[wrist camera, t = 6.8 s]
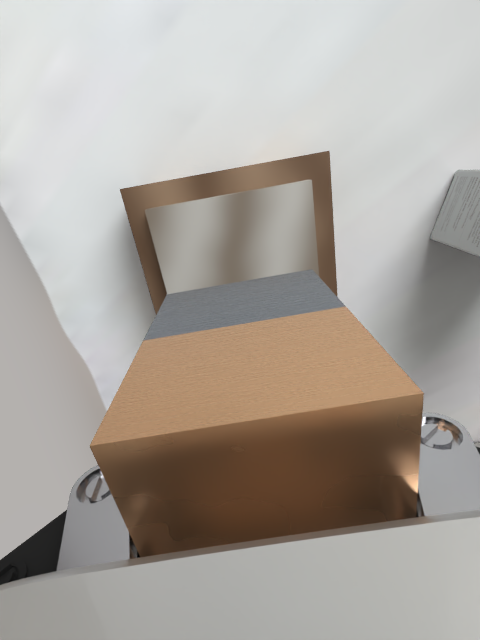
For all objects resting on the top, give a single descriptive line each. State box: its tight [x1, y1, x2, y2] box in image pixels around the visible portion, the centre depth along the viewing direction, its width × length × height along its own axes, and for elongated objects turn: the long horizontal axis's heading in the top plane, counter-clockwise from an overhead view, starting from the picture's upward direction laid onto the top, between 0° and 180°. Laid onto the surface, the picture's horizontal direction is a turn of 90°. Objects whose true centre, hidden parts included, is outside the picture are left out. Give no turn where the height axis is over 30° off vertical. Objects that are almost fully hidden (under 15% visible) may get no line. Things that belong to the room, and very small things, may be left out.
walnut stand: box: [120, 151, 337, 315], centre depth 27 cm, size 14×14×6 cm
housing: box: [90, 269, 424, 557], centre depth 10 cm, size 5×7×7 cm
